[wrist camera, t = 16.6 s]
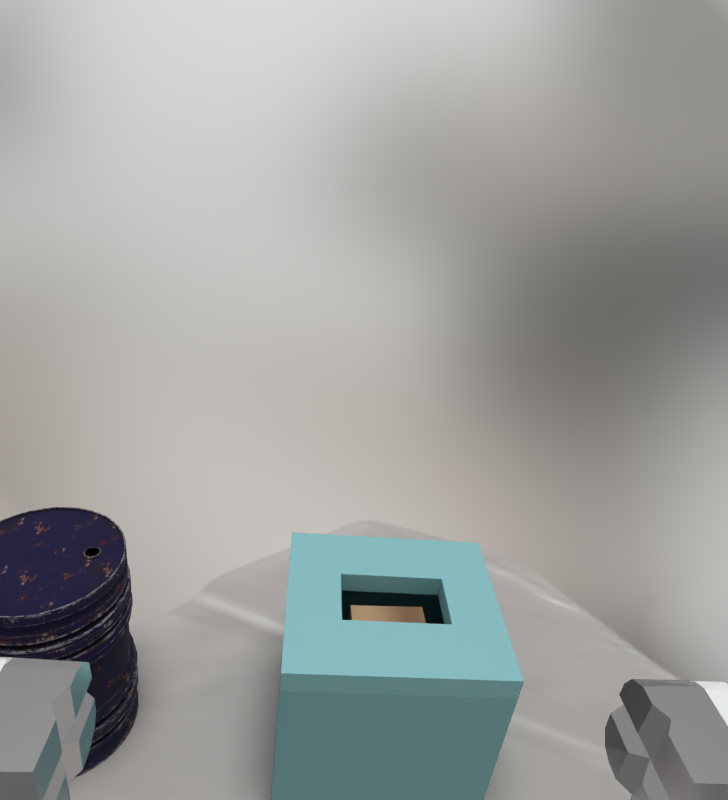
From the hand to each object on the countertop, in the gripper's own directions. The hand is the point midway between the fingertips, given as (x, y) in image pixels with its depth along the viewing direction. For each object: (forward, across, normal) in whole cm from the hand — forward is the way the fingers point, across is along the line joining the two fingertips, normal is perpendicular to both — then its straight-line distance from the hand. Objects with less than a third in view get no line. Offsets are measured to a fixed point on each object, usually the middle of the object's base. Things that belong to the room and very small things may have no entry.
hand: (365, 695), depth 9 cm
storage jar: (+23, +16, +34) cm, 44 cm away
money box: (+23, -6, +34) cm, 41 cm away
